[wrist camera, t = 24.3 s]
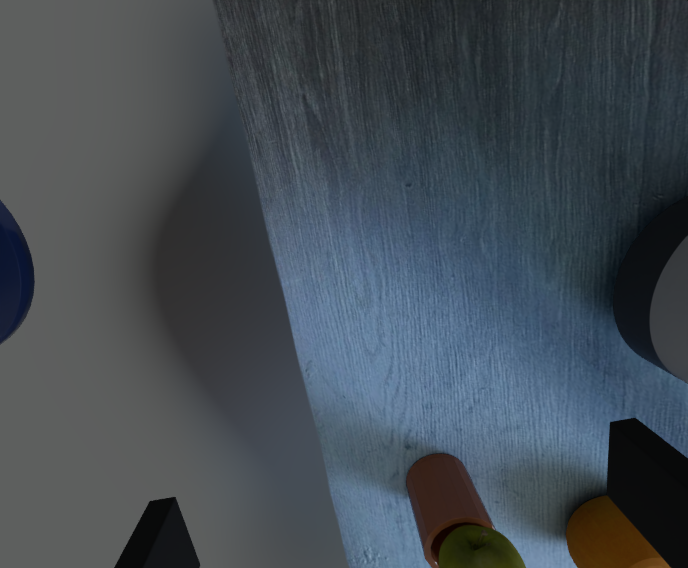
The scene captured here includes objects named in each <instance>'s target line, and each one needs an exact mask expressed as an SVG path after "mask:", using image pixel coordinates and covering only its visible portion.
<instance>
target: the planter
mask: <svg viewBox="0 0 688 568" xmlns="http://www.w3.org/2000/svg"><path fill="white" fill-rule="evenodd" d="M613 309H614V316H615V321H616V324H617V327H618V330H619V332H620V334H621V336H622V338H623V339H624V341H625V342H626V343H627V345H628V346H629V347H630V348H631V349H632V350H633V351H634V352H635V353H636V354H638V355H639V356H641V357H642V358H644V359H645V360H647V361H649V362H651V363H652V364H654V365H656V366H658V367H659V368H661V369H663V370H665V371H666V372H668V373H670V374H672V375H673V376H675V377H677V378H678V379H680V380H682V381H684V382H685V383H687V384H688V196H687V197H685V198H683V199H681V200H679V201H677V202H676V203H674V204H673V205H671V206H670V207H668V208H667V209H665V210H664V211H663V212H661V213H660V214H659V215H658V216H657V217H656V218H654V219H653V220H652V221H651V222H650V223H649V224H648V225H647V226H646V227H645V228H644V230H643V231H642V232H641V233H640V234H639V236H638V237H637V238H636V240H635V241H634V242H633V244H632V245H631V247H630V249H629V250H628V252H627V254H626V256H625V258H624V260H623V262H622V264H621V267H620V269H619V272H618V275H617V278H616V283H615V287H614V295H613Z"/></svg>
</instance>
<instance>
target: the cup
mask: <svg viewBox="0 0 688 568" xmlns="http://www.w3.org/2000/svg"><path fill="white" fill-rule="evenodd" d="M406 486H407V491H408V496H409V499H410V503H411V507H412V511H413V514H414V518H415V522H416V526H417V530H418V533H419V537H420V541H421V545H422V548H423V552H424V556H425V559H426V560H427V562H428V563H429V564H430V566H431V567H432V568H439V552H440V548H441V545H442V543H443V541H444V540H445V539H446V537H447V536H448V535H449V534H450V533H451V532H452V531H453V530H455V529H456V528H458V527H461V526H464V525H475V526H481V527H488V528H492V529H494V530H496V529H495V527H494V525H493V523H492V521H491V518H490V516H489V514H488V512H487V510H486V508H485V506H484V504H483V502H482V500H481V498H480V496H479V494H478V492H477V490H476V488H475V486H474V484H473V481H472V479H471V477H470V475H469V473H468V472H467V470H466V468H465V466H464V464H463V463H462V462H461V461H460V460H459V459H457V458H456V457H454V456H451V455H448V454H432V455H428V456H425V457H423V458H421V459H420V460H418V461H417V462H416V463H415V464H414V465H413V466H412V467H411V468H410V470H409V472H408V474H407V477H406Z"/></svg>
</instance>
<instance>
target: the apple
mask: <svg viewBox="0 0 688 568" xmlns="http://www.w3.org/2000/svg"><path fill="white" fill-rule="evenodd" d="M439 568H526V567H525V564H524V562H523V560H522V558H521V556H520V554H519V553H518V551H517V550H516V548H515V547H514V546H513V544H512V543H511V542H510V541H509V540H508V539H507V538H506V537H505V536H504V535H502V534H501V533H500V532H498V531H496V530H494V529H492V528H488V527H481V526H475V525H464V526H461V527H458V528H456V529H455V530H453V531H452V532H451V533H450V534H449V535H448V536H447V537H446V539H445V540H444V541H443V543H442V545H441V548H440V552H439Z"/></svg>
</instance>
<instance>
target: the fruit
mask: <svg viewBox="0 0 688 568" xmlns="http://www.w3.org/2000/svg"><path fill="white" fill-rule="evenodd" d="M566 540H567V546H568V550H569V553H570V556H571V558H572V559H573V561H574V563H575V564H576V566H577V567H578V568H671V567H670V566H669V565H668V564H667V563H666V562H665V560H664V559H663V558H662V557H661V556H660V555H659V554H658V552H657V551H656V550H655V549H654V548H653V547H652V546H651V545H650V543H649V542H648V541H647V540H646V539H645V538H644V537H643V536H642V534H641V533H640V532H639V531H638V530H637V529H636V528H635V527H634V525H633V524H632V523H631V522H630V521H629V520H628V519H627V517H626V516H625V515H624V514H623V513H622V512H621V511H620V510H619V508H618V507H617V506H616V505H615V504H614V503H613V502H612V501H611V499H610V498H609V497H608V496H607V495H605V496H600V497H597V498H593V499H591V500H589V501H587V502H585V503H584V504H582V505H581V506H580V507H579V508H578V509H577V510H576V511H575V512H574V513H573V514H572V516H571V518H570V519H569V521H568V526H567V530H566Z"/></svg>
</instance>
